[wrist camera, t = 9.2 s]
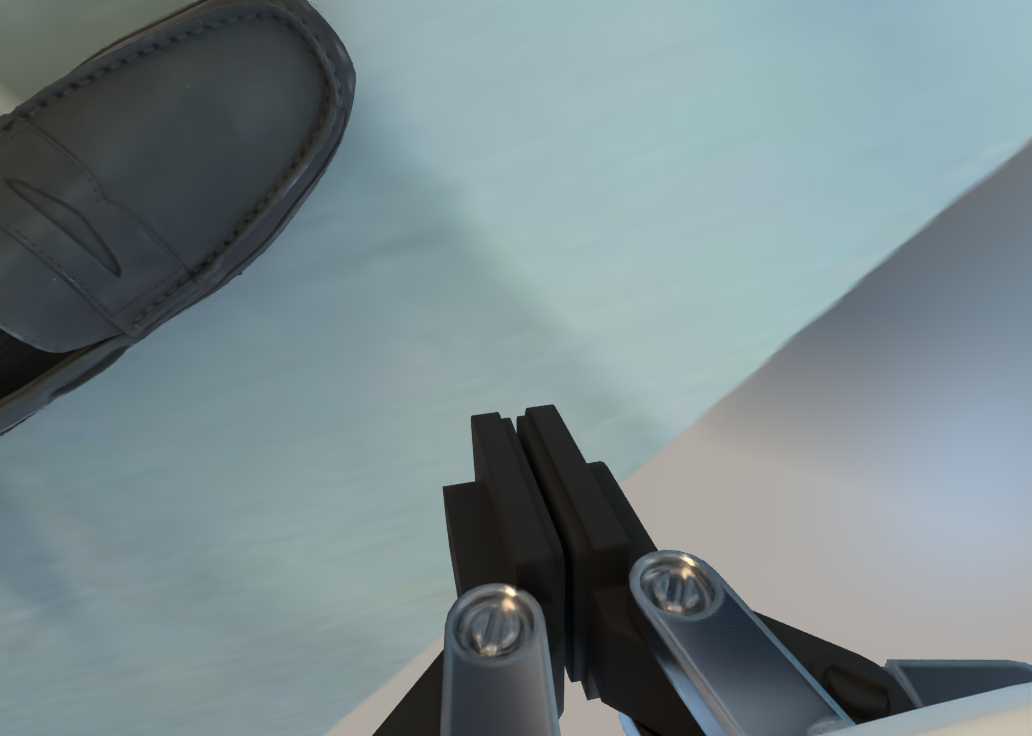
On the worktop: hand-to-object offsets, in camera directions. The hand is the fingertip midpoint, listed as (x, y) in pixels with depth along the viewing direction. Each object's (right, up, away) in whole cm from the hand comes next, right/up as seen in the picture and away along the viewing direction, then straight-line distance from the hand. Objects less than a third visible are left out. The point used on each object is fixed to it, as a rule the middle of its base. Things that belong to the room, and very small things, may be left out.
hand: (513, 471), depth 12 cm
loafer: (-20, +9, +17) cm, 28 cm away
